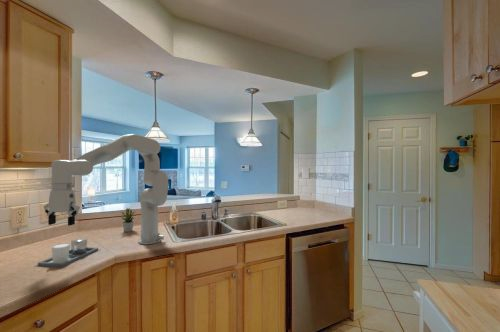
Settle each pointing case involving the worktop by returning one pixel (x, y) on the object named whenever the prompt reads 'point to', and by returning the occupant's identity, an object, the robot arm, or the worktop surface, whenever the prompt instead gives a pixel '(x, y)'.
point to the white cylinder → (60, 253)
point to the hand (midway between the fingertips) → (61, 224)
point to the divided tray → (71, 259)
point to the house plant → (127, 220)
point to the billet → (79, 246)
